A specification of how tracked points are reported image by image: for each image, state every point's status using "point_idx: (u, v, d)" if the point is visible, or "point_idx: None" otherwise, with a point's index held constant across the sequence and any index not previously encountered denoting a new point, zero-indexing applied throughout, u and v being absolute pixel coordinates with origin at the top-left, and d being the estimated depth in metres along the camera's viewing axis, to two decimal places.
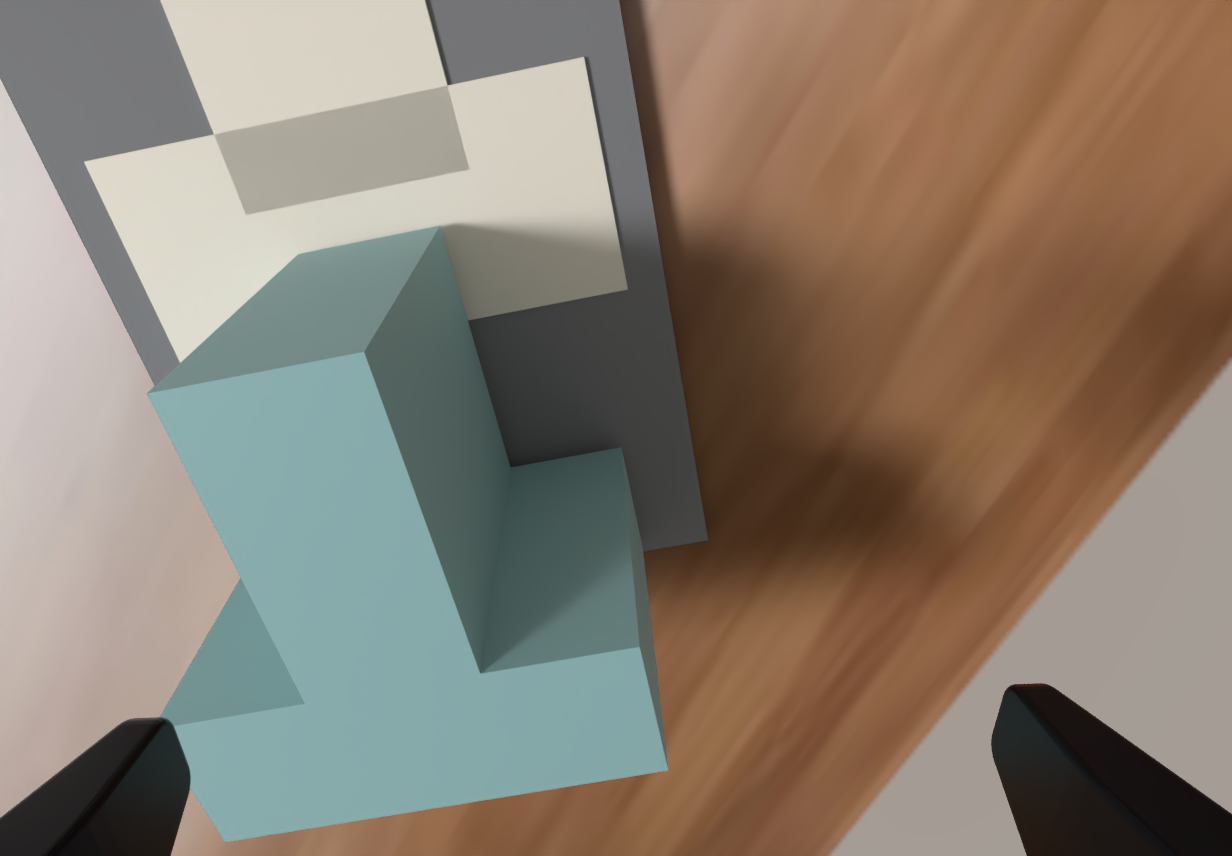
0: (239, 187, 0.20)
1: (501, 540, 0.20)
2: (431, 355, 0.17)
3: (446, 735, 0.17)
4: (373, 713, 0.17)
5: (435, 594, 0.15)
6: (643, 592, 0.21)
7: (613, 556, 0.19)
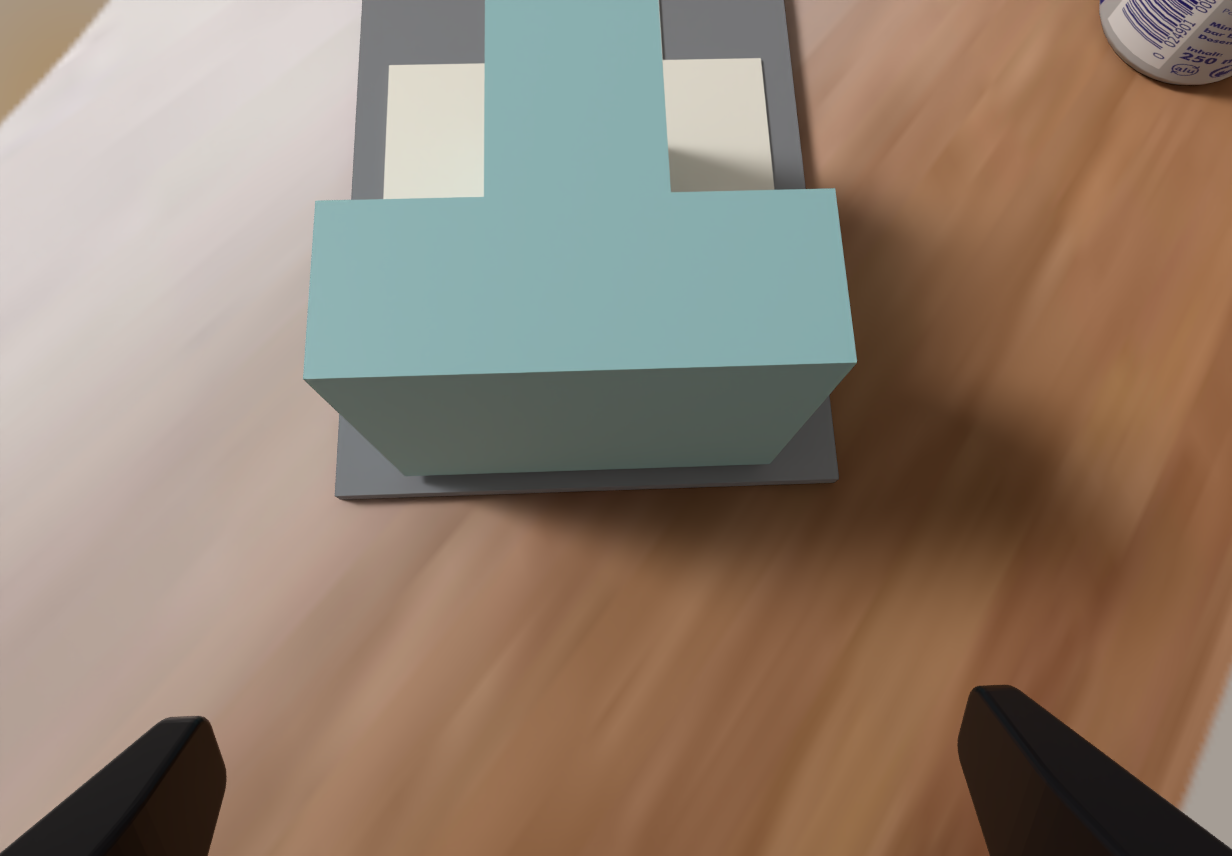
0: None
1: None
2: None
3: (616, 263, 0.15)
4: (549, 220, 0.16)
5: (650, 99, 0.16)
6: None
7: None
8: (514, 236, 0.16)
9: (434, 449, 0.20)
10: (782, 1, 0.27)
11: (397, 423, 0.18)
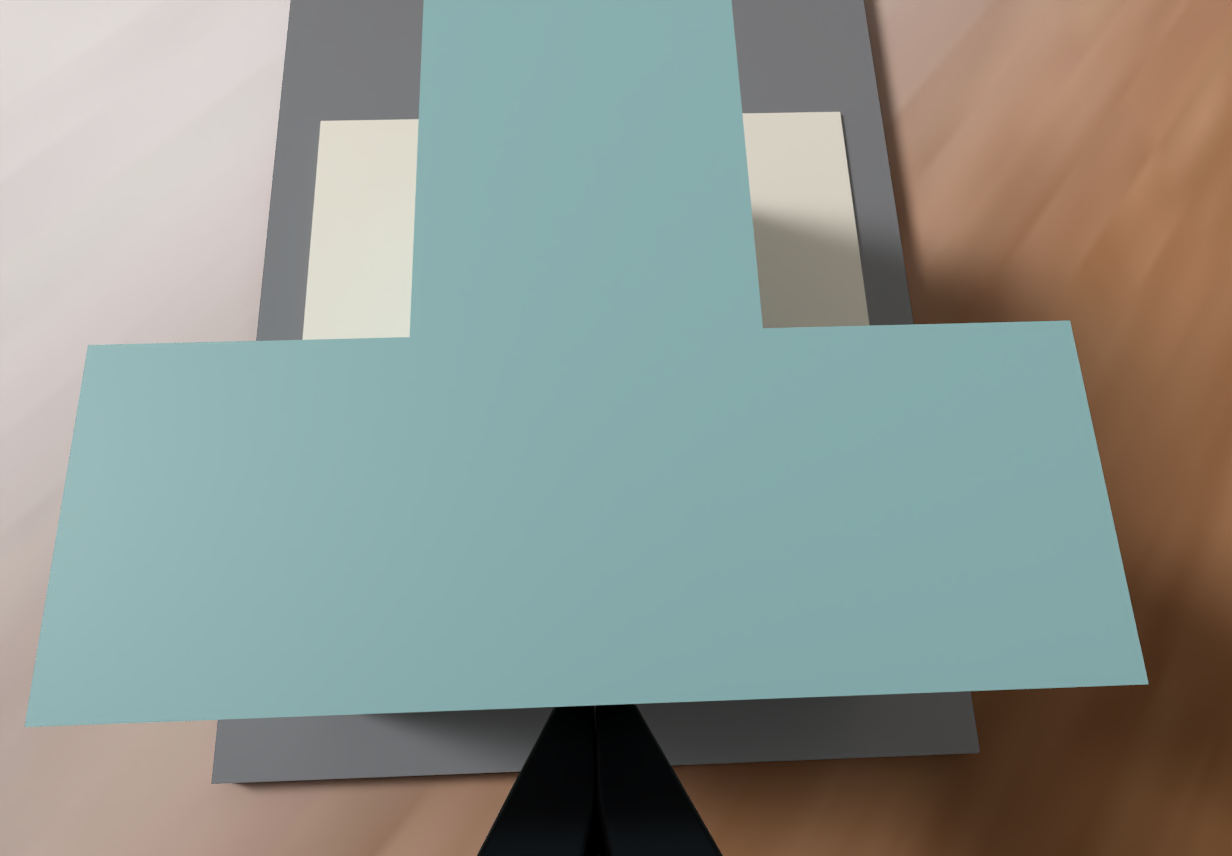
0: None
1: None
2: None
3: (661, 472, 0.08)
4: (531, 383, 0.08)
5: (719, 153, 0.09)
6: None
7: None
8: (465, 416, 0.08)
9: None
10: (866, 33, 0.20)
11: None
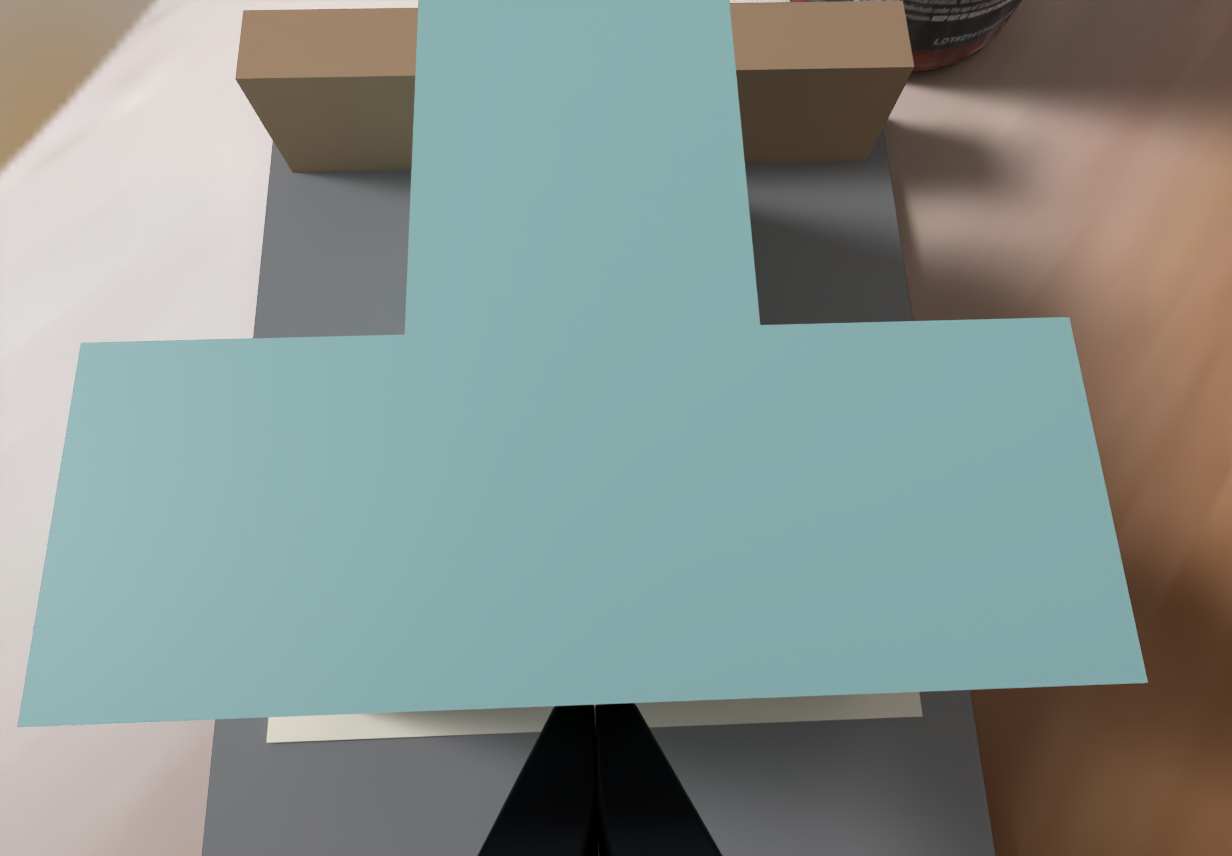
0: None
1: None
2: None
3: (658, 470, 0.08)
4: (528, 381, 0.08)
5: (716, 147, 0.09)
6: None
7: None
8: (461, 414, 0.08)
9: None
10: None
11: None
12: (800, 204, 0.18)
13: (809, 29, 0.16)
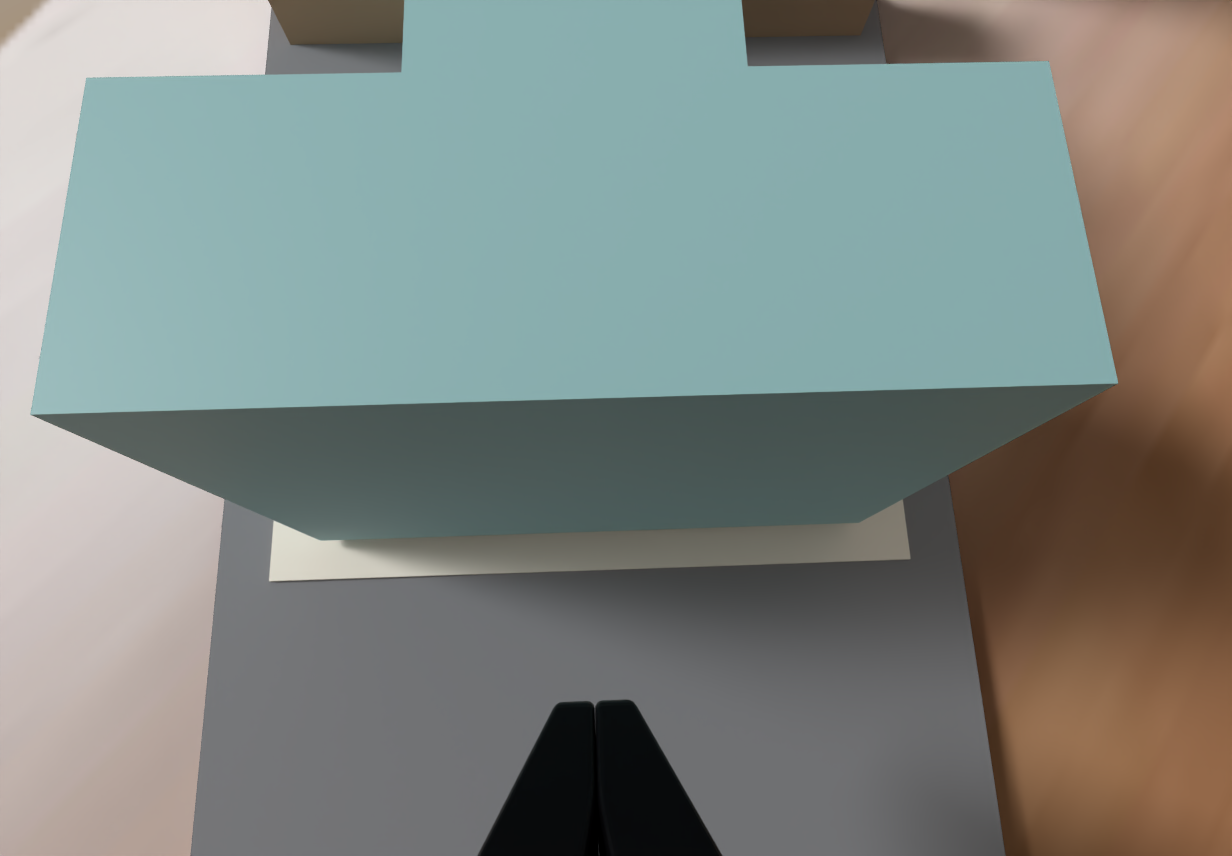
0: None
1: None
2: None
3: (648, 194, 0.08)
4: (521, 115, 0.08)
5: None
6: None
7: None
8: (456, 143, 0.08)
9: (347, 512, 0.13)
10: None
11: (266, 480, 0.10)
12: None
13: None
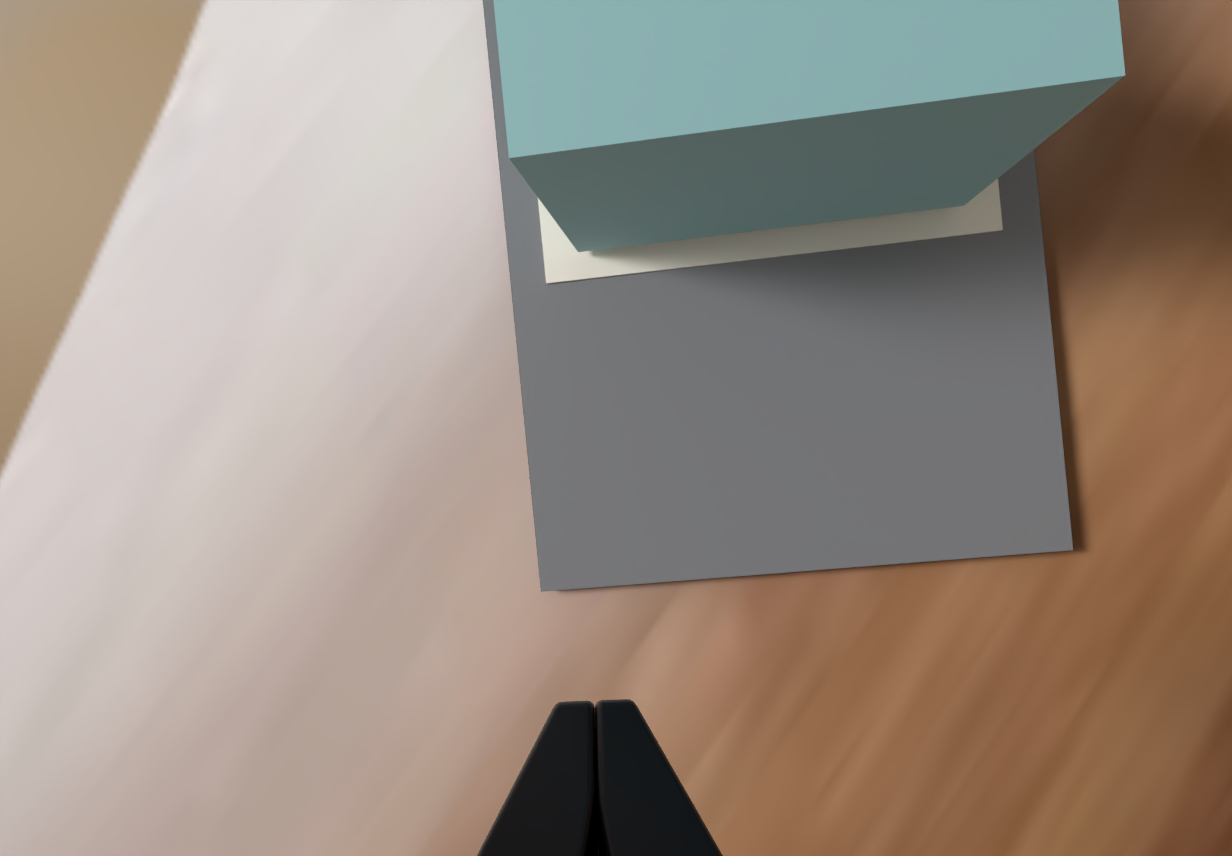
0: None
1: None
2: None
3: None
4: None
5: None
6: None
7: None
8: None
9: (615, 221, 0.19)
10: None
11: (588, 197, 0.17)
12: None
13: None
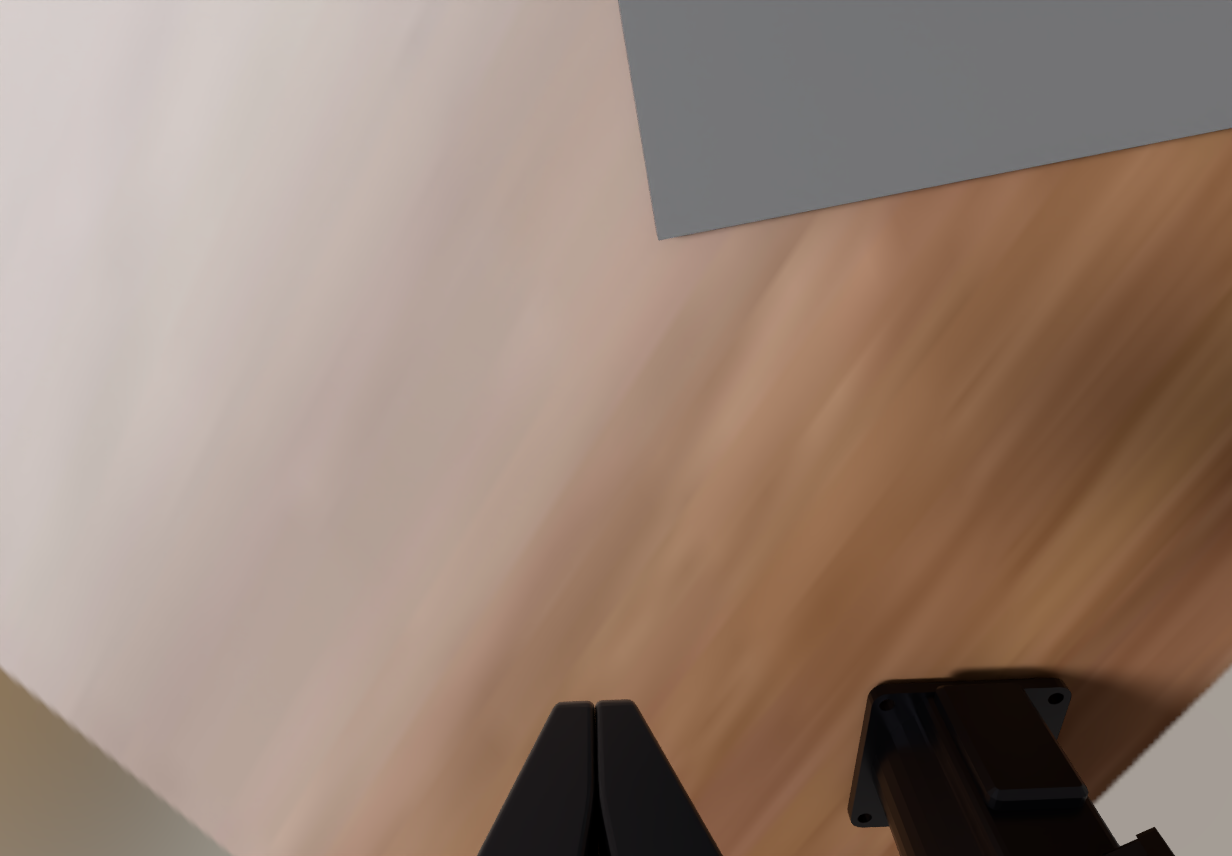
0: None
1: None
2: None
3: None
4: None
5: None
6: None
7: None
8: None
9: None
10: None
11: None
12: None
13: None
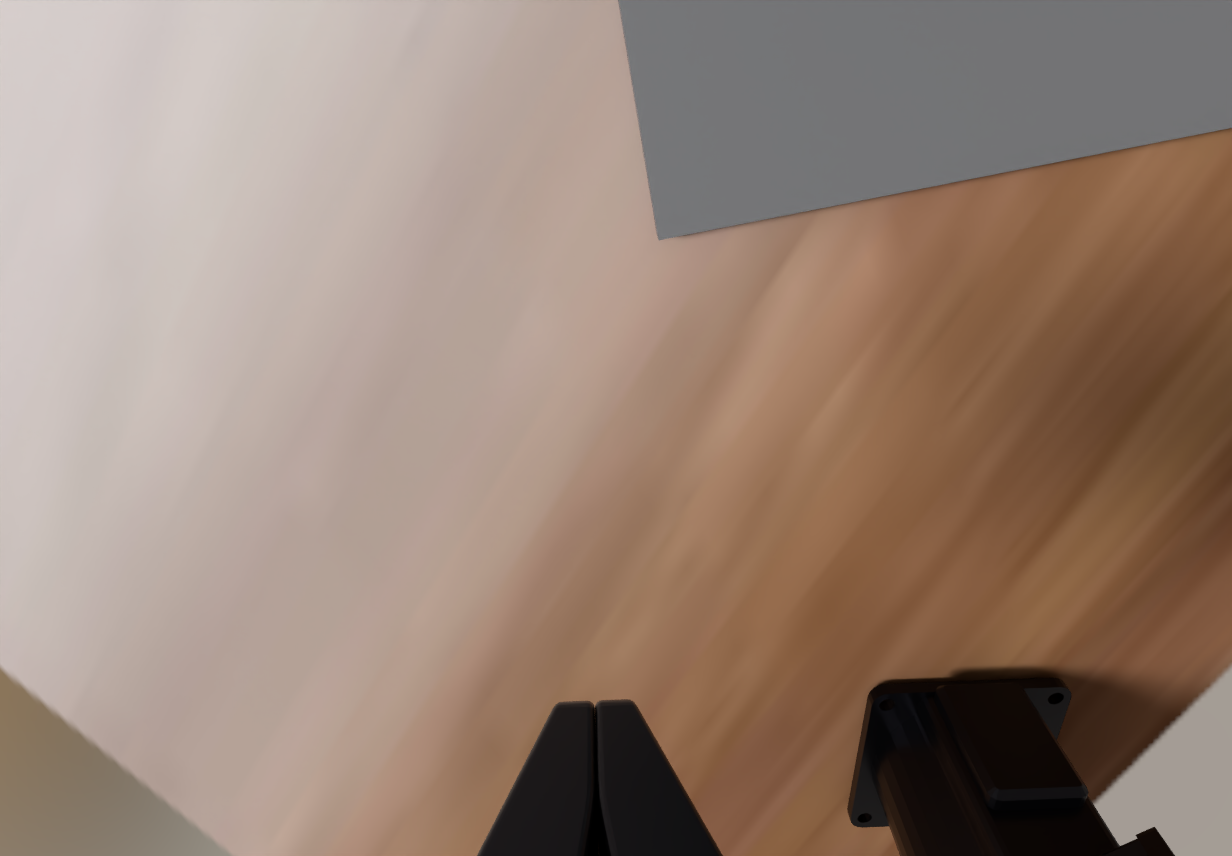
0: None
1: None
2: None
3: None
4: None
5: None
6: None
7: None
8: None
9: None
10: None
11: None
12: None
13: None
